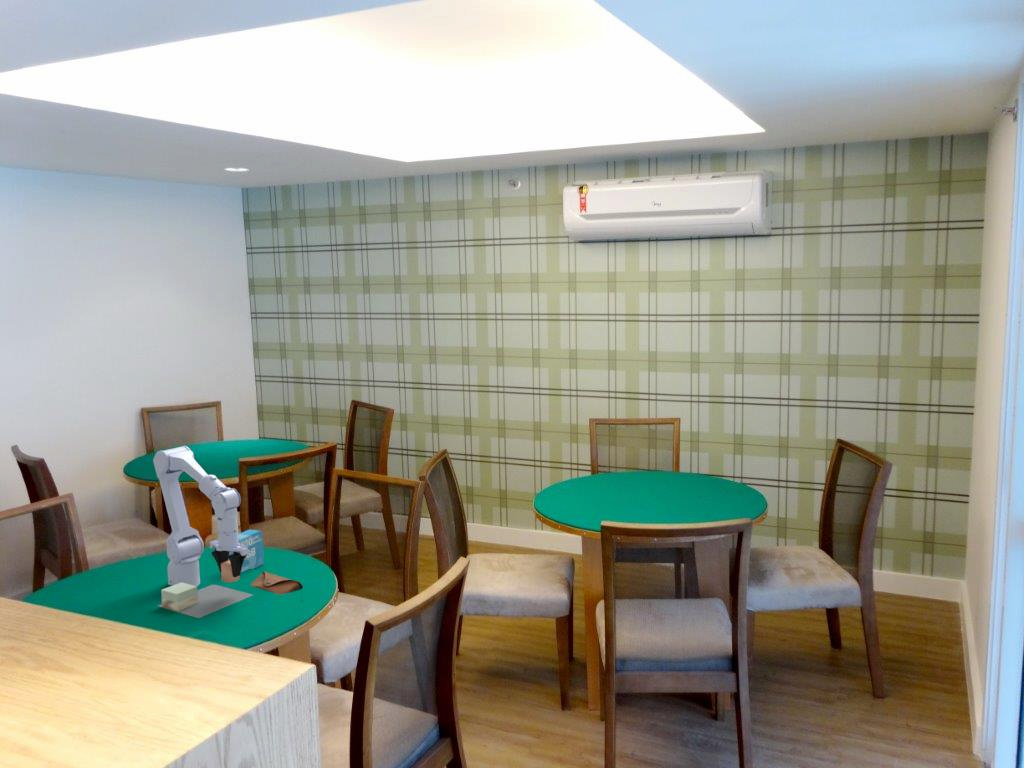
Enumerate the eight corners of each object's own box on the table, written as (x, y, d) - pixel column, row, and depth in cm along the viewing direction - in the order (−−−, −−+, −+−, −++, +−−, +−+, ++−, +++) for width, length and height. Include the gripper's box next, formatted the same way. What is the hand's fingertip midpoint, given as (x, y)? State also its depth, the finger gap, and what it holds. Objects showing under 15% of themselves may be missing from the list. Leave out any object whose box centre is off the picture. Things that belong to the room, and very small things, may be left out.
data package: (240, 575, 275) (238, 540, 273) (229, 574, 277) (227, 538, 275) (264, 564, 286) (262, 529, 284) (253, 562, 288) (251, 528, 286)
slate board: (157, 609, 248) (157, 605, 248) (213, 587, 265) (213, 584, 265) (198, 621, 239) (198, 618, 238) (253, 598, 256) (253, 594, 255)
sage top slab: (161, 598, 247) (161, 589, 247) (182, 590, 253) (181, 582, 253) (177, 602, 243) (176, 594, 243) (197, 594, 249) (197, 586, 249)
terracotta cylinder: (218, 580, 253) (217, 564, 252) (231, 575, 257) (230, 559, 257) (229, 583, 251) (228, 567, 250) (242, 578, 255) (242, 562, 254)
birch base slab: (162, 606, 247) (161, 598, 247) (182, 598, 253) (182, 590, 253) (177, 611, 244) (177, 602, 243) (198, 602, 250) (197, 594, 249)
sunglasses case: (242, 588, 264) (250, 567, 266) (259, 592, 269) (266, 572, 271) (282, 599, 254) (290, 577, 256) (298, 604, 259) (305, 583, 261)
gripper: (200, 530, 252) (203, 574, 254) (233, 537, 245) (236, 583, 247) (219, 524, 258) (222, 567, 260) (252, 531, 251) (255, 575, 253)
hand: (230, 574), depth 254 cm, fingers closed on terracotta cylinder, 5 cm apart
